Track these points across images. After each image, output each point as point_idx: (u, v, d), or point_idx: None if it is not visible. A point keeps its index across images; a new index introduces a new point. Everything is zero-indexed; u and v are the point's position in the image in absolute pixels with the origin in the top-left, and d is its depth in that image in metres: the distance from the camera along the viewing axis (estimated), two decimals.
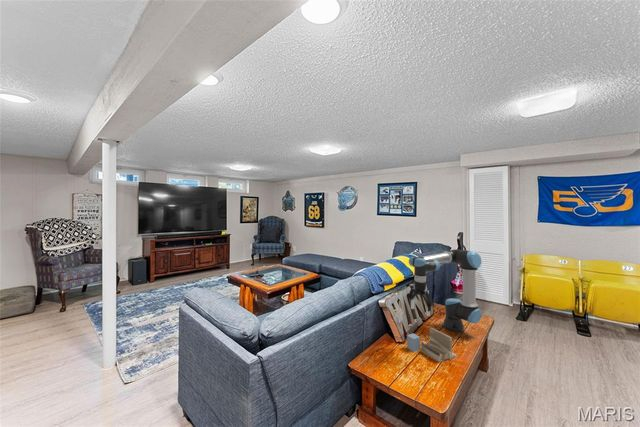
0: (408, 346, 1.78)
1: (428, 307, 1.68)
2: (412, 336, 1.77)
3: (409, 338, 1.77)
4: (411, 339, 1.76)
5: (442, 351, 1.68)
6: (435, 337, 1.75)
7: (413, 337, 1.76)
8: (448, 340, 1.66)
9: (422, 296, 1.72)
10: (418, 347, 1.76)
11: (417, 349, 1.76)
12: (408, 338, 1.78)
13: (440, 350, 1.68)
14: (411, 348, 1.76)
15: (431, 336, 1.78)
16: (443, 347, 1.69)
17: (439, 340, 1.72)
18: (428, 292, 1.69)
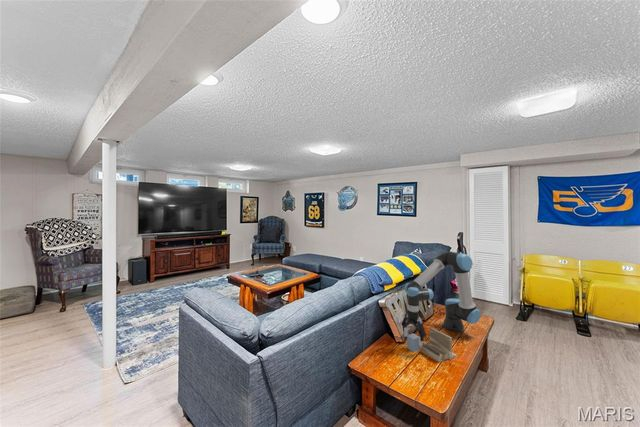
0: (408, 346, 1.78)
1: (421, 337, 1.71)
2: (412, 336, 1.77)
3: (409, 338, 1.77)
4: (411, 339, 1.76)
5: (442, 351, 1.68)
6: (435, 337, 1.75)
7: (413, 337, 1.76)
8: (448, 340, 1.66)
9: (415, 326, 1.74)
10: (418, 347, 1.76)
11: (417, 349, 1.76)
12: (408, 338, 1.78)
13: (440, 350, 1.68)
14: (411, 348, 1.76)
15: (431, 336, 1.78)
16: (443, 347, 1.69)
17: (439, 340, 1.72)
18: (421, 322, 1.72)
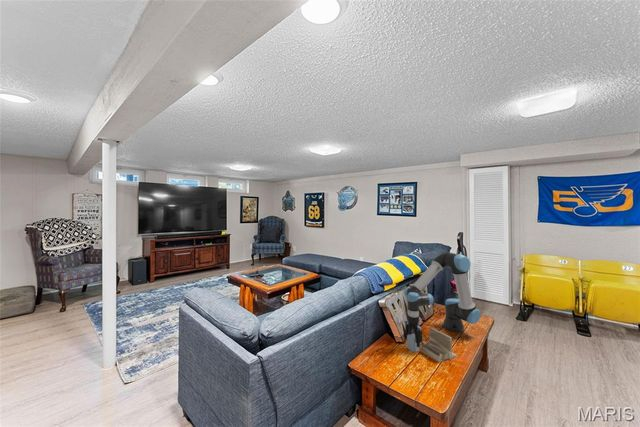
0: (408, 346, 1.78)
1: (417, 343, 1.74)
2: (412, 336, 1.77)
3: (409, 338, 1.77)
4: (411, 339, 1.76)
5: (442, 351, 1.68)
6: (435, 337, 1.75)
7: (413, 337, 1.76)
8: (448, 340, 1.66)
9: (414, 331, 1.75)
10: None
11: None
12: (408, 338, 1.78)
13: (440, 350, 1.68)
14: (411, 348, 1.76)
15: (431, 336, 1.78)
16: (443, 347, 1.69)
17: (439, 340, 1.72)
18: (420, 329, 1.72)
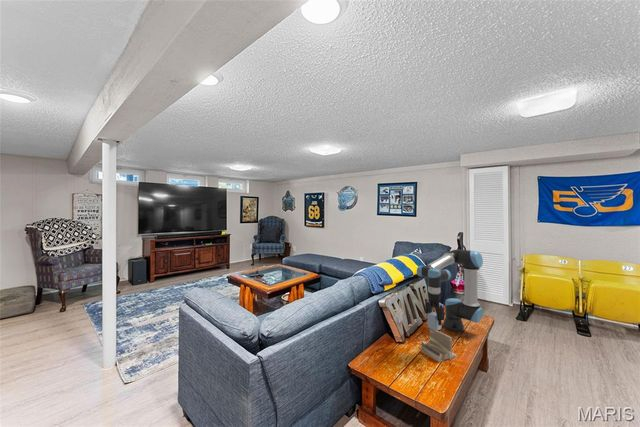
0: (429, 325, 1.70)
1: (438, 321, 1.66)
2: (433, 314, 1.69)
3: (430, 316, 1.69)
4: (432, 317, 1.67)
5: (442, 351, 1.68)
6: (435, 337, 1.75)
7: (434, 315, 1.68)
8: (448, 340, 1.66)
9: (435, 309, 1.67)
10: None
11: None
12: (429, 316, 1.70)
13: (440, 350, 1.68)
14: (432, 326, 1.67)
15: (431, 336, 1.78)
16: (443, 347, 1.69)
17: (439, 340, 1.72)
18: (442, 306, 1.64)
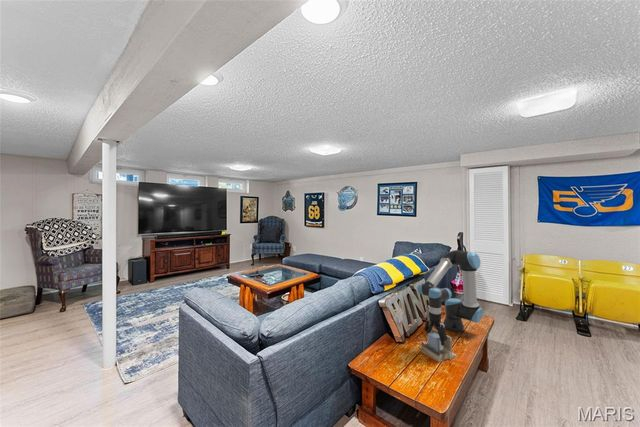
0: (430, 346, 1.71)
1: (441, 341, 1.65)
2: (434, 335, 1.70)
3: (431, 337, 1.70)
4: (433, 339, 1.68)
5: (442, 351, 1.68)
6: None
7: (435, 337, 1.68)
8: (448, 340, 1.66)
9: None
10: None
11: None
12: (430, 337, 1.70)
13: None
14: (433, 348, 1.68)
15: None
16: (443, 347, 1.69)
17: None
18: (444, 326, 1.64)
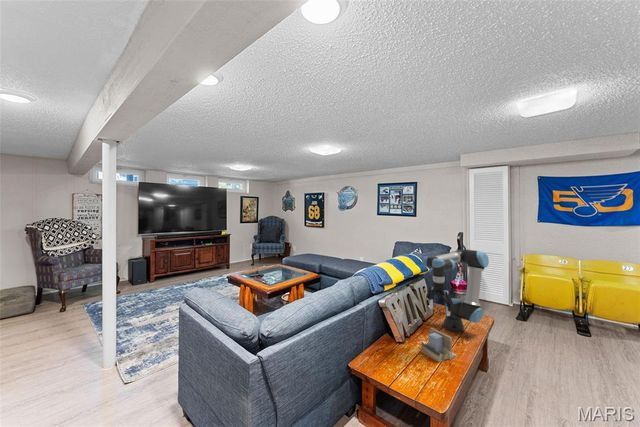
0: (430, 346, 1.71)
1: (448, 307, 1.69)
2: (434, 335, 1.70)
3: (431, 337, 1.70)
4: (433, 339, 1.68)
5: (442, 351, 1.68)
6: None
7: (435, 337, 1.68)
8: (448, 340, 1.66)
9: (441, 296, 1.72)
10: (440, 347, 1.68)
11: (439, 349, 1.68)
12: (430, 337, 1.70)
13: None
14: (433, 348, 1.68)
15: None
16: (443, 347, 1.69)
17: None
18: (447, 292, 1.70)
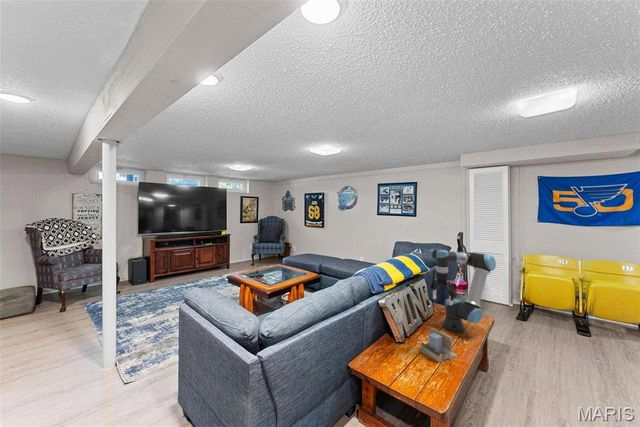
0: (430, 346, 1.71)
1: (451, 296, 1.76)
2: (434, 335, 1.70)
3: (431, 337, 1.70)
4: (433, 339, 1.68)
5: (442, 351, 1.68)
6: None
7: (435, 337, 1.68)
8: (448, 340, 1.66)
9: (445, 286, 1.79)
10: (440, 347, 1.68)
11: (439, 349, 1.68)
12: (430, 337, 1.70)
13: None
14: (433, 348, 1.68)
15: None
16: (443, 347, 1.69)
17: None
18: (451, 282, 1.77)
